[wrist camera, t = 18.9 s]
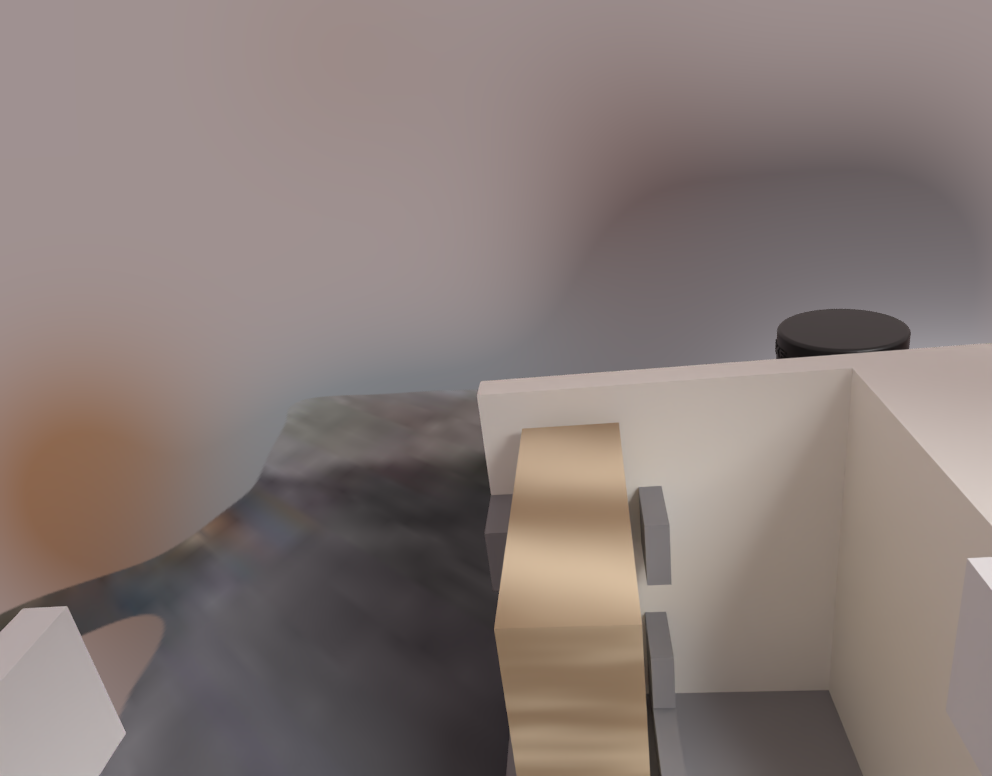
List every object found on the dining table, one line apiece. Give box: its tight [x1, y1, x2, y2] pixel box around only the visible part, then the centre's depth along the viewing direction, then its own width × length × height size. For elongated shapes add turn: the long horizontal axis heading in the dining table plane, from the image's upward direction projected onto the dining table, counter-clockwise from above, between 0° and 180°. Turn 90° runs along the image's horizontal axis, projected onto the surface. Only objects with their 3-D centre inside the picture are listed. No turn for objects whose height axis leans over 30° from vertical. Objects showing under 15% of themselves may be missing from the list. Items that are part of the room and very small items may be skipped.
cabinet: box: [477, 343, 992, 776], centre depth 29 cm, size 16×23×18 cm, turn 85°
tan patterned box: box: [494, 423, 650, 776], centre depth 29 cm, size 12×4×16 cm, turn 175°
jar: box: [775, 309, 911, 359], centre depth 53 cm, size 9×8×12 cm
